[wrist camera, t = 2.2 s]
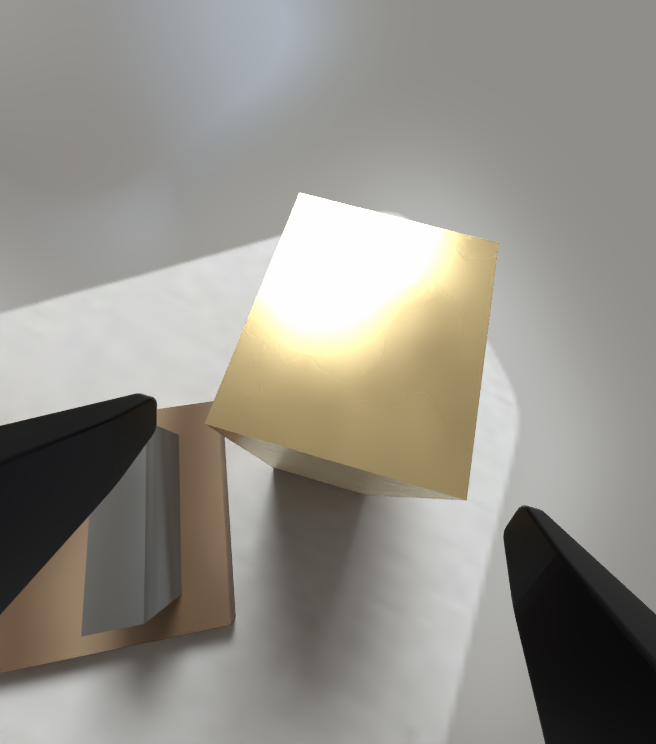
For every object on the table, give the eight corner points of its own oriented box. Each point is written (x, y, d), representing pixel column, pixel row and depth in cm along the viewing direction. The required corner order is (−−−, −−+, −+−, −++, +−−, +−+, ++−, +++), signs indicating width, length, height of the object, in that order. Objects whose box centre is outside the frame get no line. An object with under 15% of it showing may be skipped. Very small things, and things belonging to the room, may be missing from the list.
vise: (222, 405, 19) (195, 379, 14) (235, 616, 15) (206, 664, 11) (-110, 453, 17) (-251, 440, 13) (-175, 701, 14) (-394, 796, 9)
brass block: (365, 494, 17) (466, 500, 6) (273, 467, 18) (204, 423, 6) (389, 388, 19) (498, 242, 8) (306, 365, 20) (299, 192, 8)
